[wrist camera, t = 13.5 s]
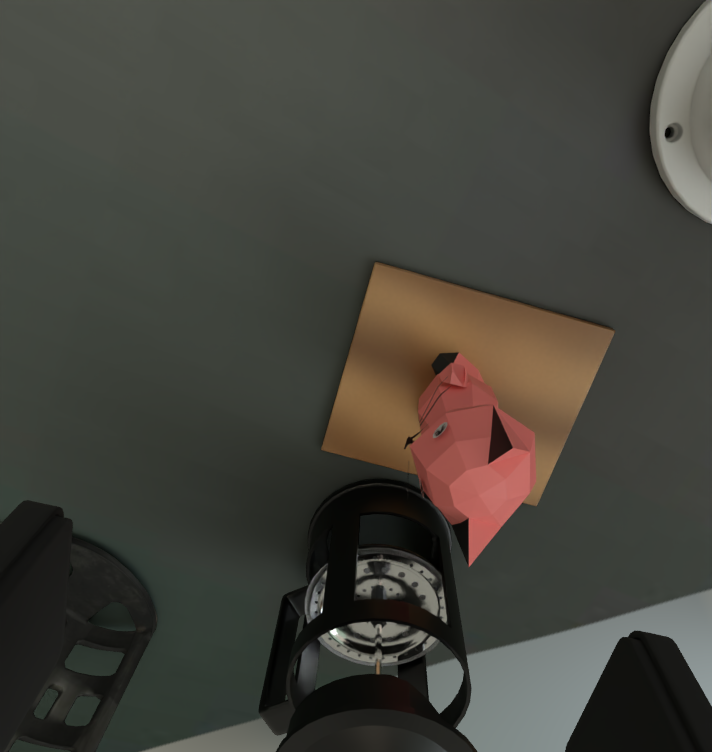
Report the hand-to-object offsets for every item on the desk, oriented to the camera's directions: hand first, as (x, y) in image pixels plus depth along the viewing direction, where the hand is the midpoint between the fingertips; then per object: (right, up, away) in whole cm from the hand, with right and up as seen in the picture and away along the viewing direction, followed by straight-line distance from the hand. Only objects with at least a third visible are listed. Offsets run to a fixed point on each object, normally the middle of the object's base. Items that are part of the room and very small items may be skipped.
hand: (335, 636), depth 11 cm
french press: (+1, -7, +32) cm, 32 cm away
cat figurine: (+6, +3, +27) cm, 28 cm away
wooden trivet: (+7, +3, +27) cm, 28 cm away
